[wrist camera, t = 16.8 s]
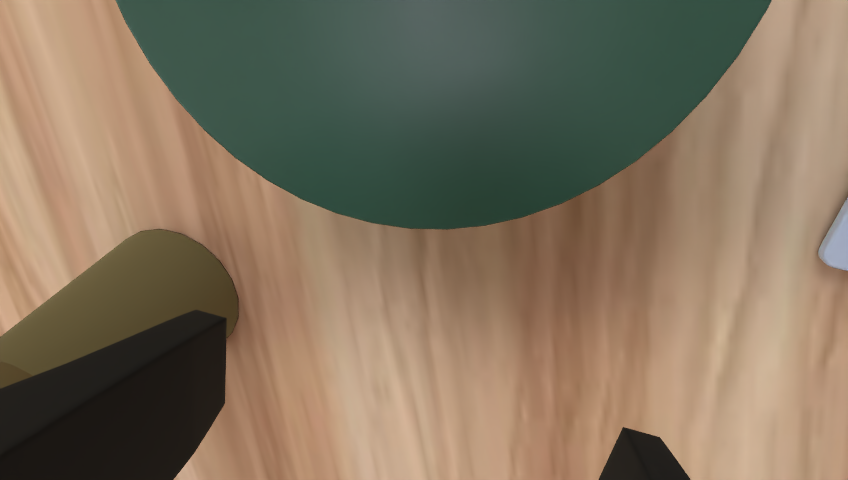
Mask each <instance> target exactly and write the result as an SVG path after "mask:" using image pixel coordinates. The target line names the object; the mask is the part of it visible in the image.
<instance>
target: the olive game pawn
mask: <svg viewBox="0 0 848 480" xmlns="http://www.w3.org/2000/svg"><path fill="white" fill-rule="evenodd" d="M193 310H200V311H203V312H207V313H211V314H214V315H218V316H222V317H225V318H227V328H226V338H227V337H228V336H229V335H230V334H231V333H232V332H233V329H234V327H235V324H236V321H237V319H238V297H237V294H236V291H235V288H234V286H233V283H232V280H231V278H230V276H229V275H228V273H227V272H226V270H225V269H224V267H223V266H222V264H221V263H220V262H219V260H218V259H217V258H216V257H215V256H213V255H212V254H211V253H210V252H209V251H208V250H207V249H206V248H204V247H203V246H202V245H201V244H199V243H197V242H196V241H194V240H192V239H190V238H188V237H186V236H184V235H182V234H180V233H175V232H171V231H166V230H162V229H157V230H148V231H140V232H139V233H137V234H135V235H133V236H131V237H129V238H128V239H126V240H125V241H123V242H122V243H121V244H119V245H118V246H117V247H116V248H114V249H113V250H112V251H110V252H109V253H108V254H107V255H105V256H104V257H103V258H101V259H100V260H99V261H98V262H96V263H95V264H94V265H92V266H91V267H90V268H89V269H87V270H86V271H85V272H83V273H82V274H81V275H79V276H78V277H77V278H76V279H74V280H73V281H72V282H70V283H69V284H68V285H67V286H65V287H64V288H63V289H61V290H60V291H59V292H58V293H56V294H55V295H54V296H52V297H51V298H50V299H49V300H47V301H46V302H45V303H43V304H42V305H41V306H40V307H38V308H37V309H36V310H34V311H33V312H32V313H31V314H29V315H28V316H27V317H25V318H24V319H23V320H22V321H20V322H19V323H18V324H16V325H15V326H14V327H12V328H11V329H10V330H9V331H7V332H6V333H5V334H3V335H2V336H1V337H0V388H3V387H6V386H8V385H11V384H14V383H16V382H19V381H21V380H24V379H27V378H29V377H32V376H34V375H37V374H40V373H42V372H45V371H48V370H50V369H53V368H55V367H58V366H61V365H63V364H66V363H68V362H71V361H73V360H76V359H78V358H80V357H83V356H85V355H87V354H90V353H92V352H95V351H97V350H99V349H102V348H104V347H107V346H109V345H111V344H114V343H116V342H118V341H121V340H123V339H126V338H128V337H130V336H133V335H135V334H137V333H140V332H142V331H144V330H147V329H149V328H151V327H154V326H156V325H158V324H161V323H163V322H165V321H168V320H170V319H173V318H175V317H178V316H180V315H183V314H185V313H188V312H191V311H193Z"/></svg>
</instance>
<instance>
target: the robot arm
mask: <svg viewBox="0 0 848 480" xmlns="http://www.w3.org/2000/svg"><path fill="white" fill-rule="evenodd" d="M818 254H819V257H820V259H821V260H822V261H823V262H824V263H826V264H827V265H828V266H831V267H833V268H837V269H841V270H845V271H848V197H847V199H846V201H845V203H844V204H843V206H842V208H841V210H840V211H839V213H838V215H837V217H836V219H835V220H834V222H833V224H832V226H831V227H830V229H829V231H828V233H827V235H826V236H825V238H824V240H823V242H822V244H821V245H820V248H819V251H818ZM226 328H227V318H225V317H222V316H218V315H214V314H211V313H207V312H203V311H200V310H193V311H191V312H188V313H185V314H183V315H180V316H178V317H175V318H173V319H170V320H168V321H165V322H163V323H161V324H158V325H156V326H154V327H151V328H149V329H147V330H144V331H142V332H140V333H137V334H135V335H133V336H130V337H128V338H126V339H123V340H121V341H118V342H116V343H114V344H111V345H109V346H107V347H104V348H102V349H99V350H97V351H95V352H92V353H90V354H87V355H85V356H83V357H80V358H78V359H76V360H73V361H71V362H68V363H66V364H63V365H61V366H58V367H55V368H53V369H50V370H48V371H45V372H42V373H40V374H37V375H34V376H32V377H29V378H27V379H24V380H21V381H19V382H16V383H14V384H11V385H8V386H6V387H3V388H0V480H173V479H174V478H175V477H176V476H177V474H178V473H179V472H180V470H181V469H182V468H183V467H184V465H185V464H186V463H187V462H188V460H189V459H190V458H191V456H192V455H193V454H194V452H195V451H196V449H197V448H198V446H199V445H200V443H201V441H202V440H203V438H204V437H205V435H206V434H207V432H208V430H209V429H210V427H211V426H212V424H213V422H214V421H215V419H216V417H217V416H218V414H219V412H220V411H221V409H222V407H223V406H224V404H225V375H226ZM599 480H690V478H689V477H688V475H687V474H686V473H685V471H684V470H683V468H682V467H681V465H680V464H679V463H678V461H677V460H676V458H675V457H674V456H673V454H672V453H671V452H670V450H669V449H668V448H667V446H666V445H665V444H664V442H663V441H662V440H661V438H660V437H657V436H653V435H650V434H646V433H642V432H639V431H635V430H631V429H628V428H624V427H623V428H622V431H621V433H620V435H619V437H618V439H617V441H616V443H615V446H614V448H613V450H612V452H611V454H610V456H609V458H608V461H607V463H606V465H605V467H604V469H603V471H602V473H601V476H600V478H599Z"/></svg>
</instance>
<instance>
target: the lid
mask: <svg viewBox="0 0 848 480" xmlns="http://www.w3.org/2000/svg"><path fill="white" fill-rule="evenodd" d="M771 1H772V0H116V2H117V4H118V7H119V9H120V11H121V13H122V15H123V17H124V20H125V22H126V24H127V25H128V27H129V29H130V30H131V32H132V34H133V36H134V37H135V39H136V41H137V42H138V44H139V46H140V47H141V49H142V51H143V53H144V54H145V56H146V58H147V59H148V61H149V63H150V64H151V66H152V67H153V68H154V70H155V71H156V72H157V74H158V75H159V76H160V78H161V79H162V80H163V82H164V83H165V85H166V86H167V87H168V89H169V90H170V91H171V93H172V94H173V95H174V97H175V98H176V99H177V101H178V102H179V103H180V104H181V105H182V106H183V107H184V108H185V109H186V110H187V112H188V113H189V114H190V115H191V116H192V117H193V118H194V119H195V120H196V121H197V123H198V124H199V125H200V126H201V127H202V128H203V129H204V130H205V131H206V132H207V133H208V134H209V135H210V136H212V137H213V138H214V139H215V140H216V141H217V142H218V143H219V144H221V145H222V146H223V147H224V148H225V149H226V150H227V151H228V152H230V153H231V154H232V155H233V156H234V157H235V158H237V159H238V160H239V161H241V162H242V163H244V164H245V165H246V166H248V167H249V168H251V169H252V170H254V171H255V172H256V173H258V174H259V175H261V176H262V177H263V178H265V179H266V180H268V181H270V182H271V183H273V184H275V185H277V186H279V187H280V188H282V189H284V190H286V191H288V192H290V193H291V194H293V195H295V196H297V197H299V198H300V199H303V200H305V201H308V202H310V203H312V204H315V205H317V206H320V207H322V208H325V209H327V210H330V211H332V212H335V213H337V214H341V215H345V216H348V217H352V218H356V219H359V220H363V221H367V222H370V223H375V224H382V225H389V226H396V227H402V228H410V229H456V228H467V227H477V226H486V225H490V224H495V223H499V222H504V221H508V220H513V219H517V218H522V217H525V216H528V215H531V214H534V213H536V212H539V211H542V210H545V209H548V208H551V207H553V206H556V205H559V204H562V203H564V202H566V201H568V200H570V199H572V198H574V197H576V196H578V195H580V194H582V193H584V192H586V191H588V190H590V189H592V188H594V187H596V186H598V185H600V184H601V183H603V182H605V181H606V180H608V179H609V178H611V177H612V176H614V175H615V174H617V173H618V172H620V171H622V170H623V169H625V168H626V167H628V166H629V165H631V164H632V163H634V162H636V161H637V160H638V159H639V158H640V157H642V156H643V155H644V154H645V153H647V152H648V151H649V150H650V149H651V148H653V147H654V146H655V145H656V144H658V143H659V142H660V141H661V140H662V139H664V138H665V137H666V136H667V135H669V134H670V133H671V132H672V131H673V130H674V129H675V128H676V127H677V126H678V125H679V124H680V123H681V122H682V121H683V120H684V119H685V118H686V117H687V116H688V115H689V114H690V113H691V112H692V111H693V110H694V109H695V108H696V107H697V106H698V104H699V103H700V102H701V101H702V100H703V99H704V98H705V97H706V96H707V95H708V94H709V92H710V91H711V90H712V89H713V87H714V86H715V85H716V83H717V82H718V81H719V80H720V78H721V77H722V76H723V74H724V73H725V72H726V71H727V69H728V68H729V67H730V66H731V64H732V63H733V62H734V60H735V59H736V58H737V57H738V55H739V54H740V52H741V50H742V49H743V47H744V46H745V44H746V42H747V41H748V39H749V38H750V36H751V34H752V33H753V31H754V30H755V28H756V26H757V25H758V23H759V22H760V20H761V18H762V17H763V15H764V14H765V12H766V10H767V9H768V7H769V5H770V3H771Z"/></svg>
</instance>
